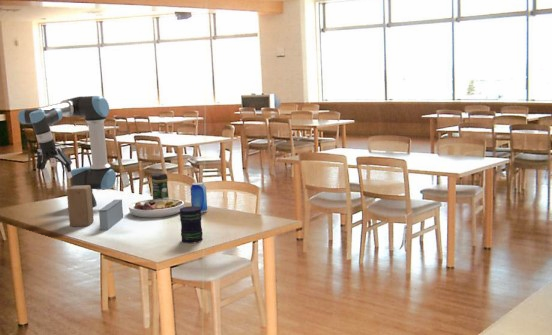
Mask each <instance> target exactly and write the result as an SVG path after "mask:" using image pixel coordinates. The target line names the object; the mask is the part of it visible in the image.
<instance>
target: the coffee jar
mask: <svg viewBox="0 0 552 335" xmlns="http://www.w3.org/2000/svg"><path fill="white" fill-rule="evenodd" d="M168 178H169V177H168V175H167V173H163V172H153V173H152V174H151V183H152V199H170V198H169V187H168V180H169V179H168Z"/></svg>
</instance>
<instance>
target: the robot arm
mask: <svg viewBox="0 0 552 335" xmlns="http://www.w3.org/2000/svg"><path fill="white" fill-rule="evenodd" d="M109 112H110V105H109V103H108V100H107V99H106V98H105V97H104V96H102V95H101V96H99V95H90V96H89V95H88V96H87V95H86V96H75V97H71V98H67V99H64V100H61V101H60V102H59V103H54V104H53V103H52V104H49V105H45V106H40V107H34V108H29V109H28V108H26V109H21V110H19V112H18V113H17V118H18V121H19V123H20V124H21V125H32V128H33V131H34V134H35V137H36V140H37V142H38V145H39V148H40V149H39V150H38V151H36V154H37V155H36V156H37V161H36V169H37V170H40V171H41V174H42V176H44V180H45V182H49V181H50V180H51V178H50V175H49V171H48V168H47V167H46V164H47V162H48V159H49V160H50V159H55V160H57V161H58V162H59V163H60V164H62V165H63V166H64V167H63V169H64V172H65V174H66V177H67V180H70V184H71V185H70V187H72V186H79V185H90V186H91V194H92V206H93V208H94V207H96V206H97V200H96V197H95V195H94V192H93V190H101V191H102V190H103V191H104V190H111V189H112V188H113V187H114V186H115V183H116V178H117V174H116V172H115V170H114V169H112V167H111V166H112V165H111V164H110V163H109V162H108V153H107V152H108V151H107V143H106V133H105V124H104V122H105V121H106V120H107V116H108V115H109ZM63 117H65V118H70V117H76V118H77V117H80V118H81V117H82V118H84V122H86V123H87V126H88V134H89V135H88V136H89V144H90V153H91V162H92V164H91V166H83V167H78V168H77V167H76V168H72V169H71V167H70V165H72V164H73V162H72V160H71V159H70V158H69V157H68V155H67V154H66V153H65V152H64V150H63V148H62V147H58V148H57V147H56V143H55V142H56V141H55V139H54V136H53V133H52V131H51V127H50V126H51V125H54V124H56V123H59V121H61V120H62V118H63Z"/></svg>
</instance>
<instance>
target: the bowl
mask: <svg viewBox="0 0 552 335" xmlns="http://www.w3.org/2000/svg"><path fill="white" fill-rule="evenodd" d="M184 204H185V203H184V201H183V200H181V199H174V198H169V199H153V198H152V199H146V200H141V201H140V200H139V201H136V202H134V203H131V204H129V206H128V210H129V212H130V214H131V215H133V216H134V217H139V218H145V219H146V218H147V219H149V218H151V219H154V218H164V217H170V216H174V215H176V214H180V208H183V207H185V205H184Z"/></svg>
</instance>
